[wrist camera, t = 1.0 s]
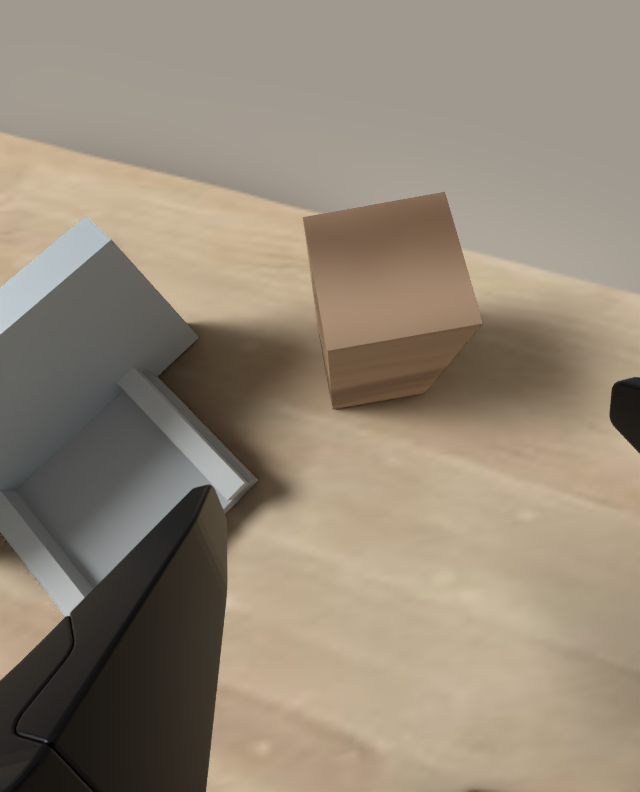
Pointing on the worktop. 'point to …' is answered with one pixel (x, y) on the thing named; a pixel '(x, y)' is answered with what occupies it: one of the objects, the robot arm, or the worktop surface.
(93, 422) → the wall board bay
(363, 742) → the worktop surface
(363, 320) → the walnut cabinet block
